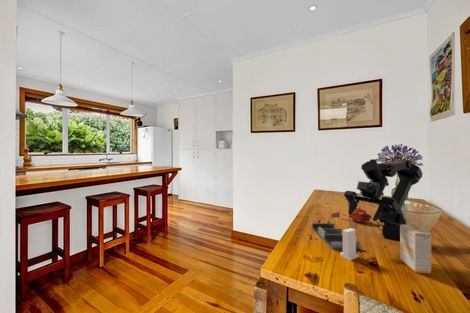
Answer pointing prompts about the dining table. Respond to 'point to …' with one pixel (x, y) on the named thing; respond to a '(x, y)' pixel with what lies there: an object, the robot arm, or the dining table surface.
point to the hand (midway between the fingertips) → (361, 217)
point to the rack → (331, 235)
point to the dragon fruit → (360, 215)
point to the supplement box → (415, 248)
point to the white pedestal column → (349, 244)
